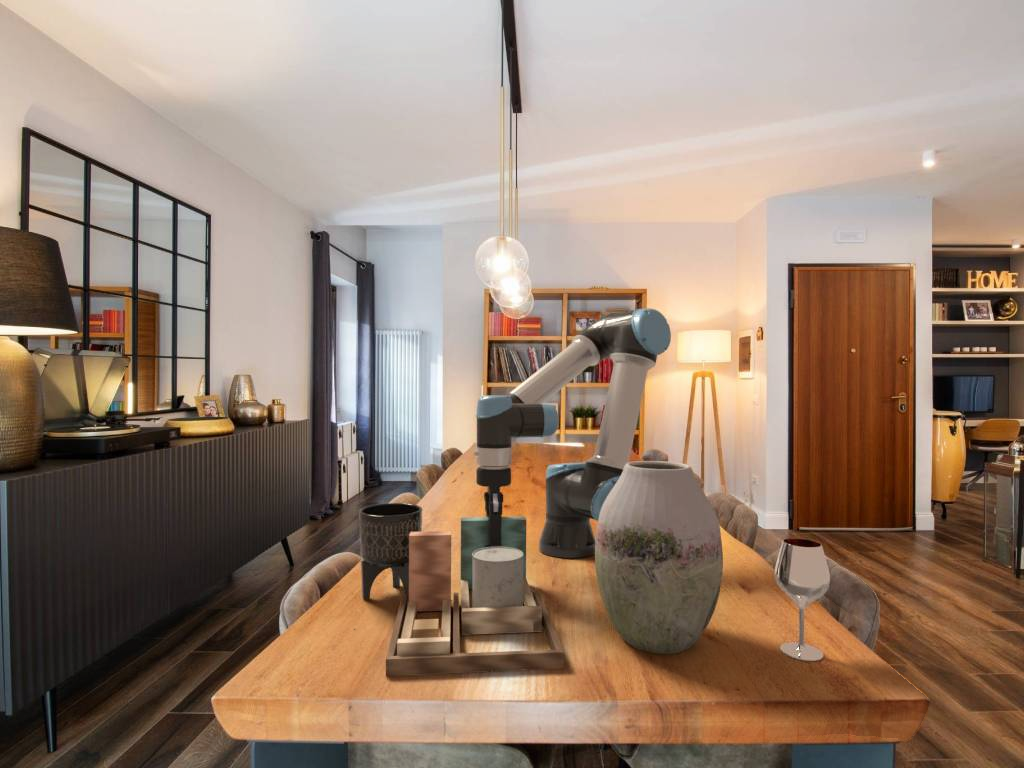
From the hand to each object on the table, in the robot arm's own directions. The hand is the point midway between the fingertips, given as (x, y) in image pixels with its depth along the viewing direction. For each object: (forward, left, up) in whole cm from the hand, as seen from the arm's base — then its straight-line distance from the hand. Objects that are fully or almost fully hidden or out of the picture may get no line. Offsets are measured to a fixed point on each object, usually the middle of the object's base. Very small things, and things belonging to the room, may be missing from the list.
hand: (493, 574), depth 125 cm
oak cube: (+13, +28, -3) cm, 31 cm away
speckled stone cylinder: (0, +18, -3) cm, 18 cm away
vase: (-27, +28, -3) cm, 39 cm away
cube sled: (+13, +23, -3) cm, 26 cm away
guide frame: (+5, +23, -3) cm, 24 cm away
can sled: (0, +11, -3) cm, 12 cm away
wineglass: (-49, +35, -3) cm, 60 cm away
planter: (+21, +3, -3) cm, 22 cm away
